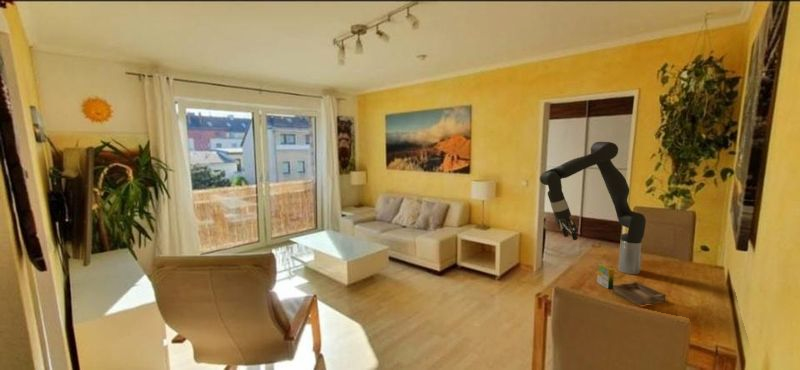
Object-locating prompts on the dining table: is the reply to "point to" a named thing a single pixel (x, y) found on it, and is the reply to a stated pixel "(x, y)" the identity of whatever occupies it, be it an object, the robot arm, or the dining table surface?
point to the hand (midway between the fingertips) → (570, 238)
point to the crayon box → (605, 275)
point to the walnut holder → (638, 293)
